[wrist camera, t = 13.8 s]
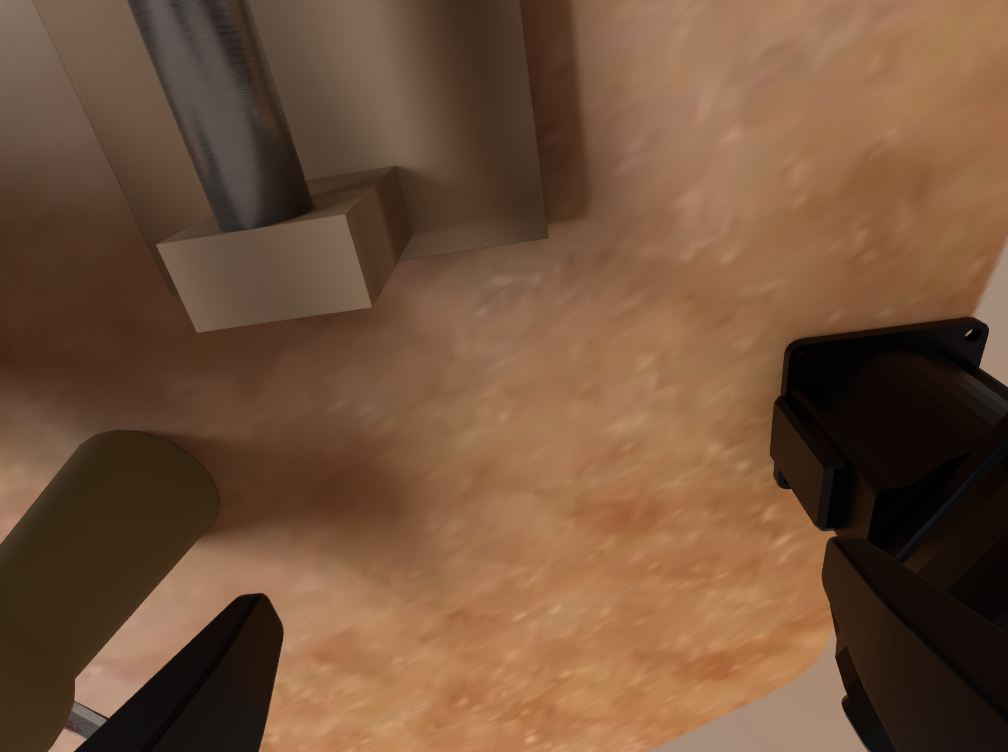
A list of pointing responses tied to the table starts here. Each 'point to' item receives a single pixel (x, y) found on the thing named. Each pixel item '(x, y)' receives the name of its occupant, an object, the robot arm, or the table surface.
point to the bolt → (226, 108)
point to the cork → (89, 569)
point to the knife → (83, 721)
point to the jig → (326, 148)
